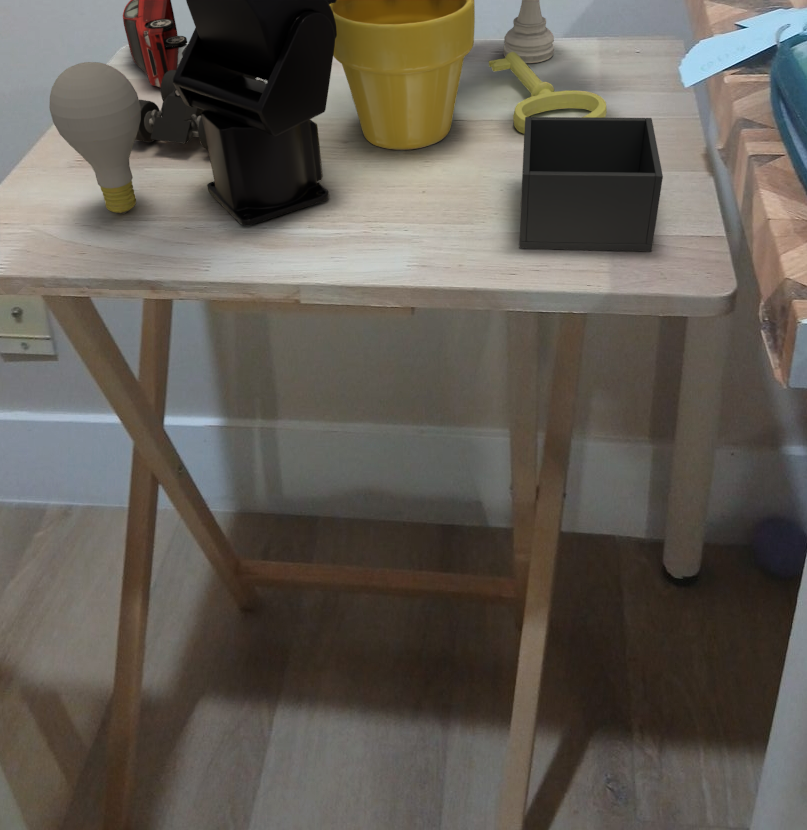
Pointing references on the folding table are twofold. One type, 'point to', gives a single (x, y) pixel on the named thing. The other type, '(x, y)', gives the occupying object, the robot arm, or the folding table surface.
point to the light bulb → (99, 125)
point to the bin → (589, 184)
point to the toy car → (152, 37)
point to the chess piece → (530, 35)
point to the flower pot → (403, 65)
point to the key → (545, 93)
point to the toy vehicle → (172, 116)
